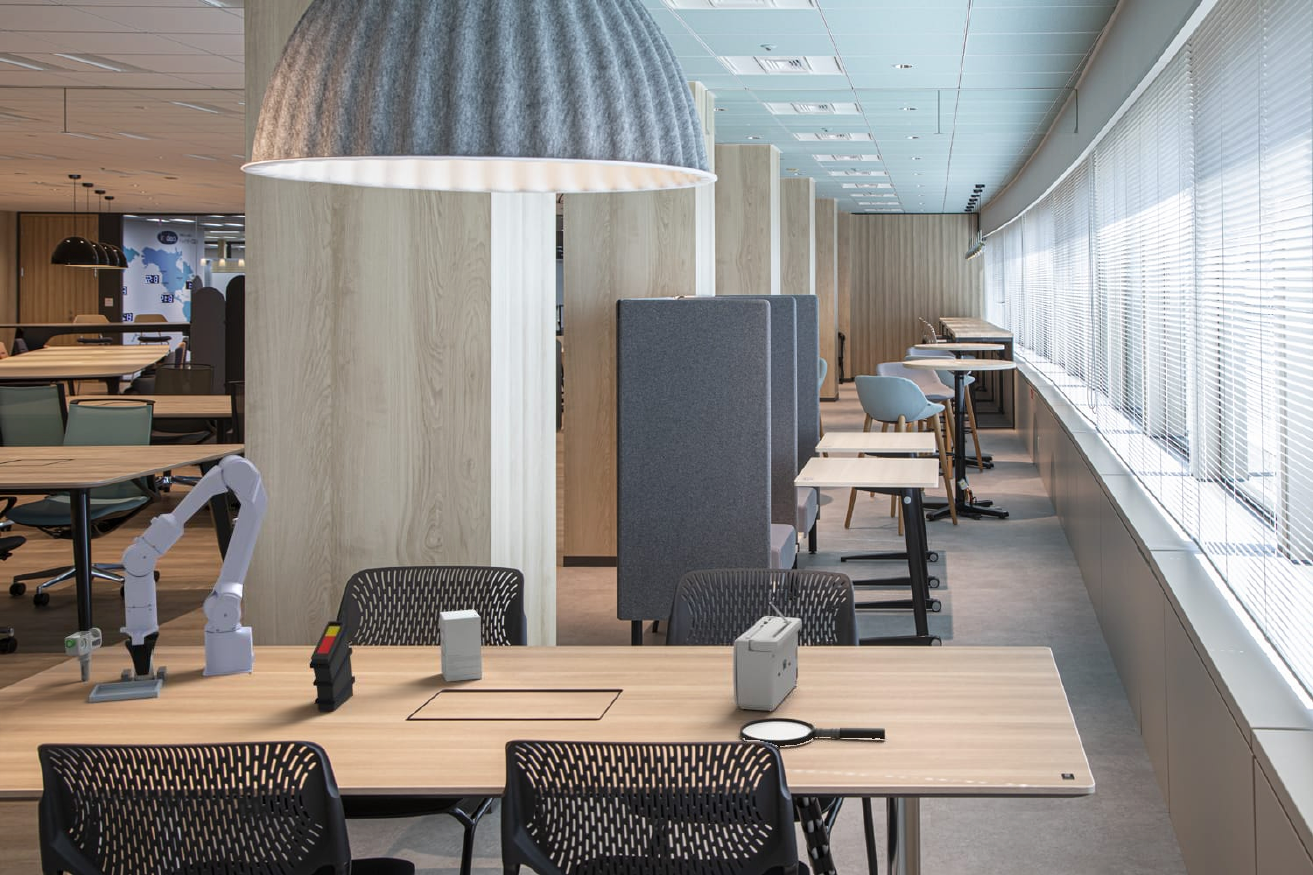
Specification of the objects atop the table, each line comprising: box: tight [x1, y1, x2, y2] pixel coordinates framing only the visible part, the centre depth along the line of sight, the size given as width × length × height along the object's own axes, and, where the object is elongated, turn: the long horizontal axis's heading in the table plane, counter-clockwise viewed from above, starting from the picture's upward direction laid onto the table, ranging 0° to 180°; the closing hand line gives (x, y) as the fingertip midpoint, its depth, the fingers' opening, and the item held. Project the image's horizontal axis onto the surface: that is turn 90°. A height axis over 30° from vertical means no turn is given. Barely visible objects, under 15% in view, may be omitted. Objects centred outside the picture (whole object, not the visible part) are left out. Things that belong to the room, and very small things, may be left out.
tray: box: [88, 679, 164, 704], centre depth 245 cm, size 12×9×2 cm
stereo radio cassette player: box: [732, 601, 803, 712], centre depth 237 cm, size 21×8×20 cm, turn 160°
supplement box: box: [439, 609, 483, 683], centre depth 255 cm, size 7×7×13 cm
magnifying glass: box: [739, 717, 886, 749], centre depth 214 cm, size 12×24×2 cm, turn 81°
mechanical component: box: [64, 627, 103, 682], centre depth 255 cm, size 3×10×10 cm, turn 174°
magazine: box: [309, 620, 356, 712], centre depth 237 cm, size 4×13×15 cm, turn 174°
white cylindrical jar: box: [133, 650, 155, 681], centre depth 255 cm, size 4×4×6 cm
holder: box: [120, 665, 169, 683], centre depth 255 cm, size 8×5×2 cm, turn 105°
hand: (144, 672), depth 255 cm, fingers closed on white cylindrical jar, 4 cm apart
